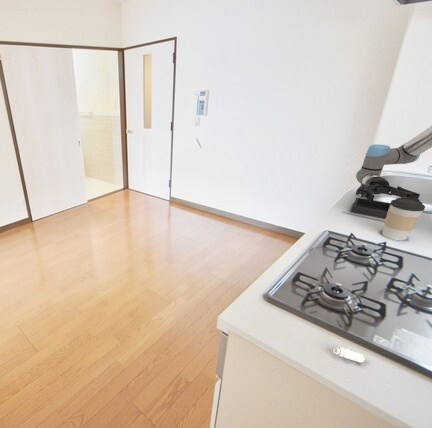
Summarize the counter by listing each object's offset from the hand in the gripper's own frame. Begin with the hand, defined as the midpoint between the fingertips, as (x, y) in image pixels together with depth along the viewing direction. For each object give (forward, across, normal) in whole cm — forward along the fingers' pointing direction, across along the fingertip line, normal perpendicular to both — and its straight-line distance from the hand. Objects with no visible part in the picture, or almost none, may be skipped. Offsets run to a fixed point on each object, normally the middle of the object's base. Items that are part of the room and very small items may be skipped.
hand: (394, 201), depth 111 cm
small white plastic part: (+80, +30, -11) cm, 85 cm away
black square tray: (-15, 0, -11) cm, 18 cm away
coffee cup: (+10, 0, -11) cm, 15 cm away
